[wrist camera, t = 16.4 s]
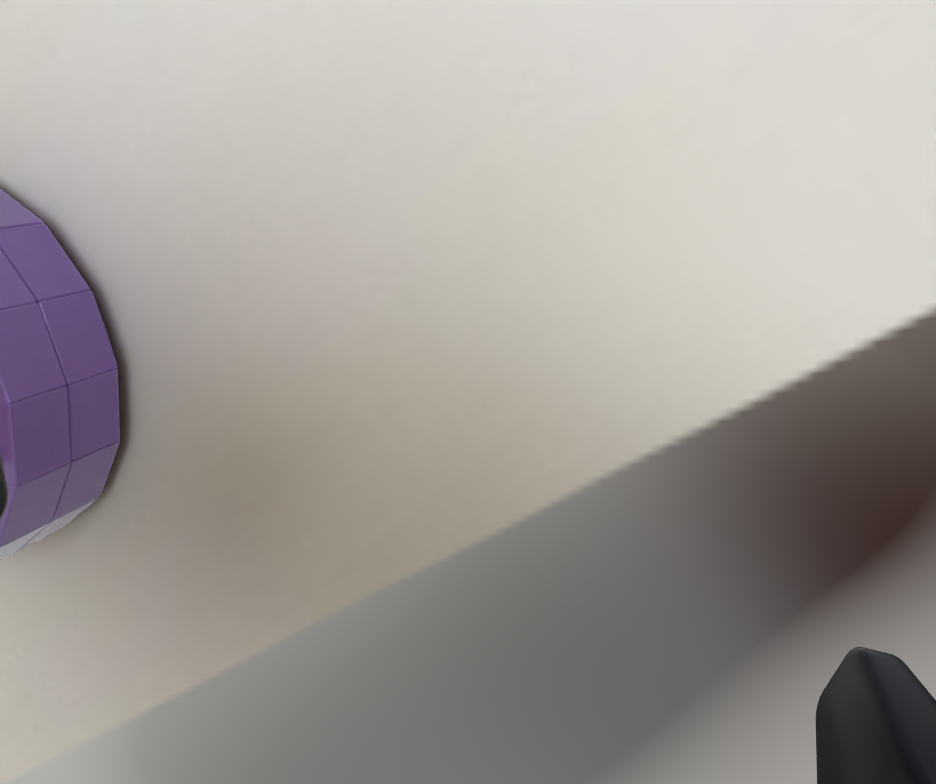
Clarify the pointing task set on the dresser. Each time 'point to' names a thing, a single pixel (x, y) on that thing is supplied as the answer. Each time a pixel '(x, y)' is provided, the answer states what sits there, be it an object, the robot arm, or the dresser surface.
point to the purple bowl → (50, 383)
